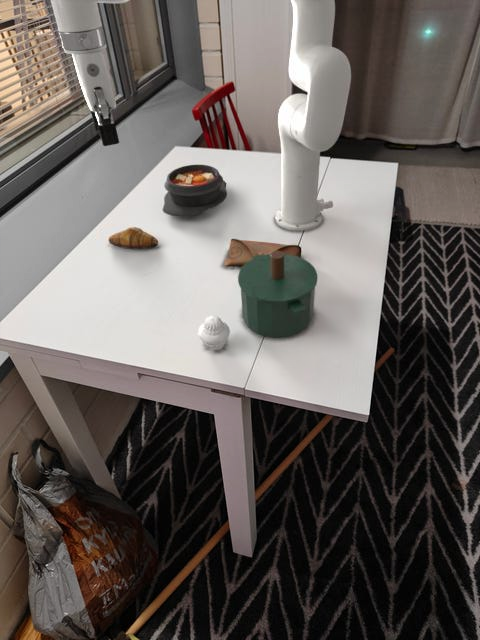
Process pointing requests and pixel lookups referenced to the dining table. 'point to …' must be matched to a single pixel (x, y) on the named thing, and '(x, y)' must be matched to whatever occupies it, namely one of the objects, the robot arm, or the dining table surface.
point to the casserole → (193, 190)
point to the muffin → (214, 333)
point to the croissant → (133, 239)
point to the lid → (277, 278)
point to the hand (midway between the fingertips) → (107, 136)
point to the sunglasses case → (255, 251)
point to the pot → (277, 315)
